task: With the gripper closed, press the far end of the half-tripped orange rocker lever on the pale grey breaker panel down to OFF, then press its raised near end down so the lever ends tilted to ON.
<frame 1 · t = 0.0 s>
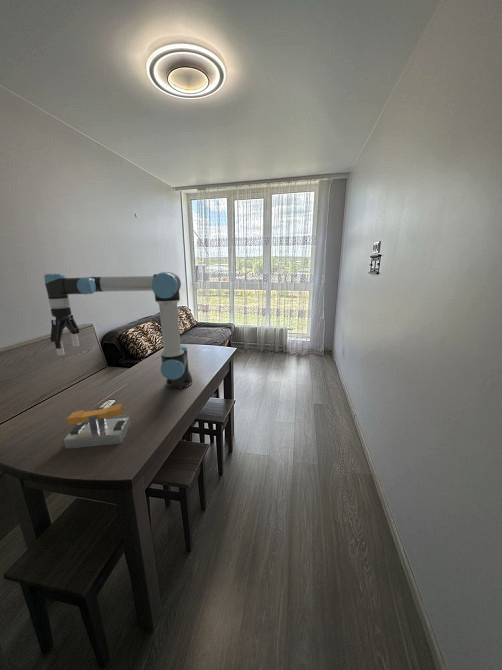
hand: (69, 350, 124), 28 cm above the table, fingers open, 13 cm apart
cord b: (110, 420, 114), on the table
lever: (96, 413, 101), point 10 cm above the table, hinge at 6.0°
panel: (100, 436, 103), on the table
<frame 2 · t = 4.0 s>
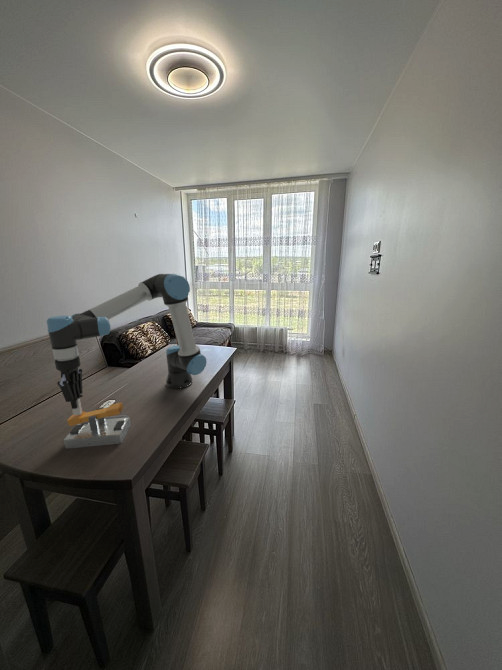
hand: (78, 414, 100), 11 cm above the table, fingers closed
lever: (96, 413, 101), point 10 cm above the table, hinge at 10.3°, touching gripper
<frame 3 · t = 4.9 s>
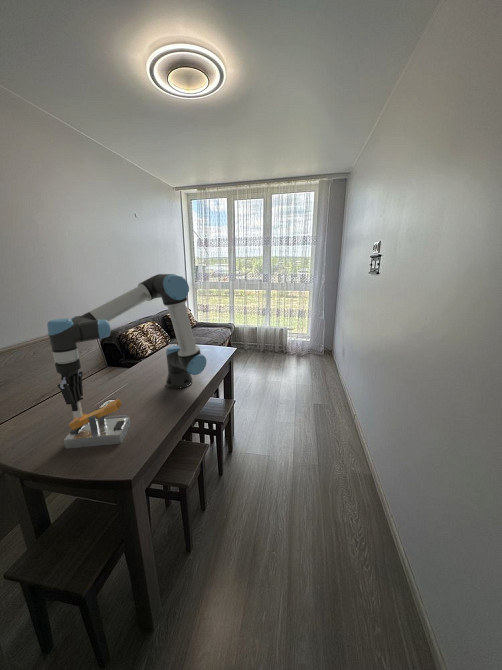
hand: (78, 416, 100), 10 cm above the table, fingers closed
lever: (96, 413, 101), point 10 cm above the table, hinge at 22.0°, touching gripper
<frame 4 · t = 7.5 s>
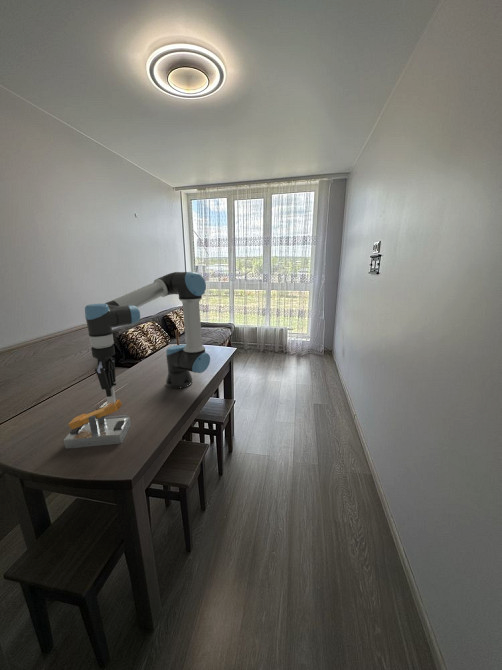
hand: (111, 402, 100), 15 cm above the table, fingers closed
lever: (96, 413, 101), point 10 cm above the table, hinge at 20.5°, touching gripper
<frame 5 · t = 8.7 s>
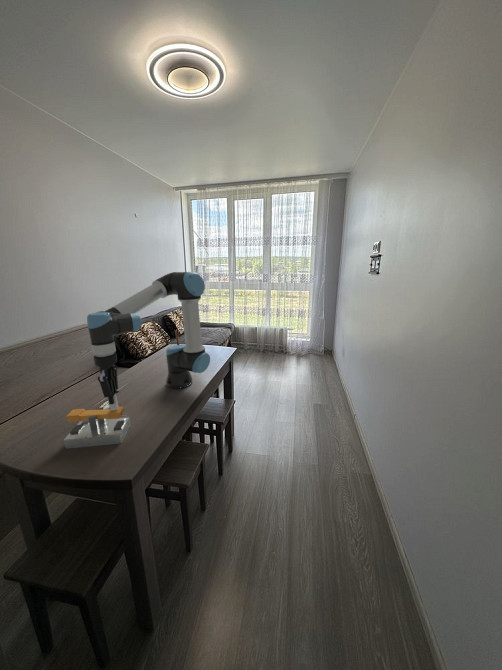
hand: (114, 409, 101), 12 cm above the table, fingers closed
lever: (96, 413, 101), point 10 cm above the table, hinge at -1.5°, touching gripper
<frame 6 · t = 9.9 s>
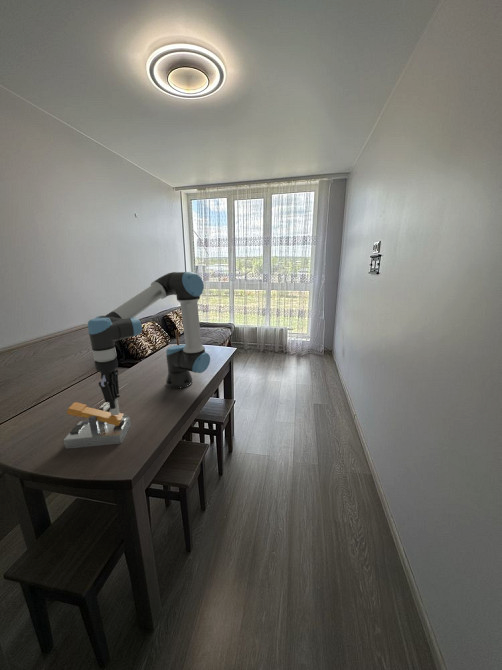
hand: (115, 414, 102), 10 cm above the table, fingers closed
lever: (96, 413, 101), point 10 cm above the table, hinge at -22.1°, touching gripper
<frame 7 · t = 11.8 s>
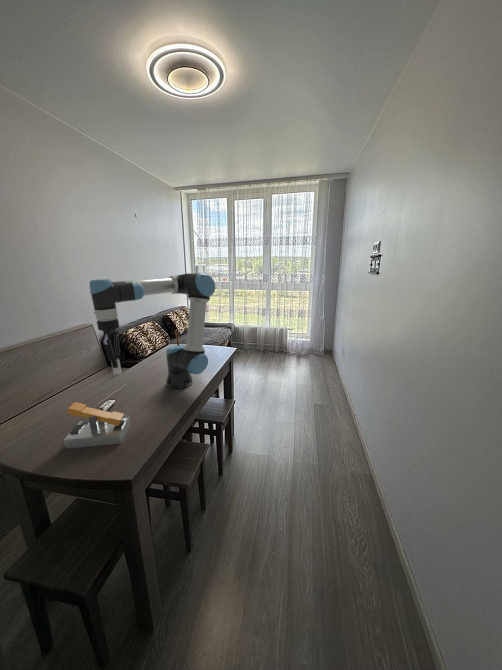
hand: (117, 373, 107), 23 cm above the table, fingers closed
lever: (96, 413, 101), point 10 cm above the table, hinge at -22.1°
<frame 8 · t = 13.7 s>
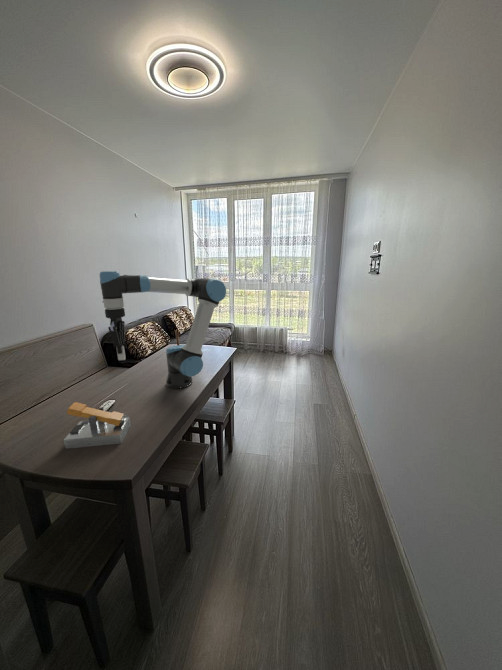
hand: (122, 359, 115), 26 cm above the table, fingers closed
nothing on the table moved.
at the end: lever at -22° (first picture: +6°) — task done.
